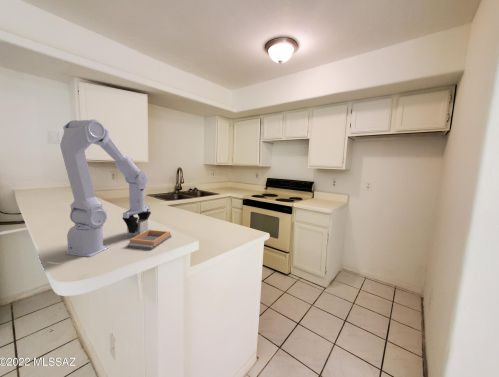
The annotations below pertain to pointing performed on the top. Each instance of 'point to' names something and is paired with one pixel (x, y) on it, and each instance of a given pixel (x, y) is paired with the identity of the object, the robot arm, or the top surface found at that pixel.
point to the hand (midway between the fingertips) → (137, 230)
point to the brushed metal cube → (139, 227)
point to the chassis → (149, 239)
